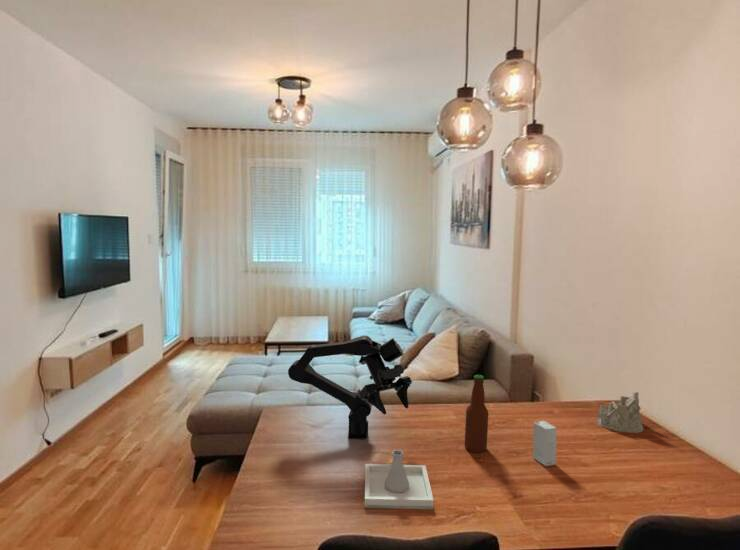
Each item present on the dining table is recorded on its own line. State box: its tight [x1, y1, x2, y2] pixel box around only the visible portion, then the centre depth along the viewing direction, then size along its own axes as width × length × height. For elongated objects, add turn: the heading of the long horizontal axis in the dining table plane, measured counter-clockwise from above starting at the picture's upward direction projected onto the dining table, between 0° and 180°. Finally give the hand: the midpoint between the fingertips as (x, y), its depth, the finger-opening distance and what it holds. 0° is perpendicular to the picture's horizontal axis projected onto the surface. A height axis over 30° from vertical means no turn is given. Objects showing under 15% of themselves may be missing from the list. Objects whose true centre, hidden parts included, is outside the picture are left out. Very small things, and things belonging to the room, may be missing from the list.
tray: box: [364, 463, 434, 510], centre depth 131 cm, size 18×18×2 cm
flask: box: [384, 449, 409, 493], centre depth 131 cm, size 7×7×10 cm
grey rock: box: [596, 391, 644, 434], centre depth 179 cm, size 16×16×15 cm
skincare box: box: [532, 420, 558, 467], centre depth 149 cm, size 6×4×12 cm
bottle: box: [464, 374, 489, 453], centre depth 156 cm, size 7×7×25 cm
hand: (396, 410), depth 153 cm, fingers open, 9 cm apart
